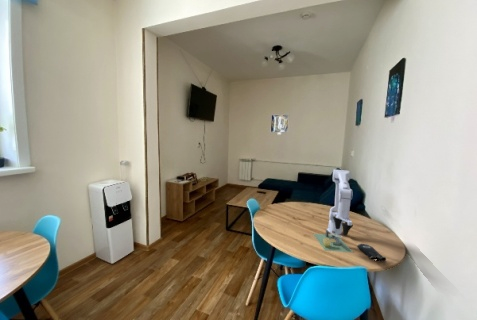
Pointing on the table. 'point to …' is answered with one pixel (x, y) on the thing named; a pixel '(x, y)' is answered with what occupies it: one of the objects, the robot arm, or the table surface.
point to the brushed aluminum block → (336, 241)
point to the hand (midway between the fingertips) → (341, 231)
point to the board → (332, 247)
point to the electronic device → (370, 252)
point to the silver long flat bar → (335, 234)
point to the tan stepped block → (327, 242)
